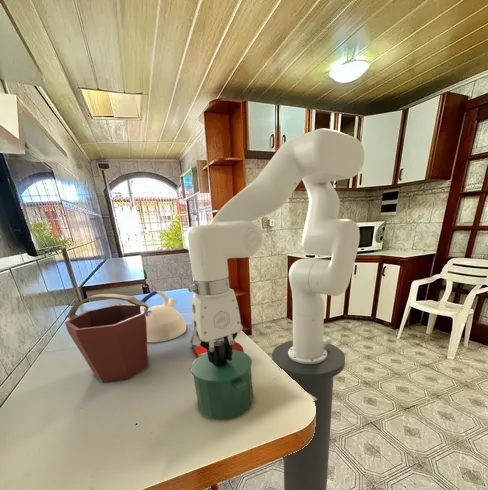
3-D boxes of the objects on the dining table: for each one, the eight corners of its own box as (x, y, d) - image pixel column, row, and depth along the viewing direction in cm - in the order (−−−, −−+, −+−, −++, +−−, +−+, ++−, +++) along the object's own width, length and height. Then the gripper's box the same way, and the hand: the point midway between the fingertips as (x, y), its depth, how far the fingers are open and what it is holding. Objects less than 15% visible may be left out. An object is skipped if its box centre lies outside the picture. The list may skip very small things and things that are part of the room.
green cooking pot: (230, 375, 79) (226, 343, 75) (270, 409, 64) (268, 372, 60) (186, 393, 73) (180, 359, 69) (219, 435, 57) (214, 395, 53)
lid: (232, 347, 74) (230, 325, 71) (264, 369, 62) (262, 344, 60) (182, 365, 67) (178, 341, 64) (207, 393, 55) (203, 366, 53)
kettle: (196, 326, 118) (190, 286, 111) (163, 346, 101) (153, 300, 94) (162, 321, 127) (154, 284, 120) (126, 339, 110) (115, 296, 103)
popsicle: (202, 361, 85) (190, 344, 97) (203, 365, 85) (190, 348, 98) (216, 357, 87) (202, 341, 99) (216, 361, 87) (202, 344, 100)
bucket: (172, 355, 94) (158, 285, 84) (129, 393, 74) (105, 308, 65) (116, 350, 101) (98, 285, 92) (64, 383, 82) (34, 306, 72)
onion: (224, 360, 88) (221, 338, 85) (241, 356, 89) (239, 334, 86) (229, 368, 83) (226, 345, 80) (246, 364, 84) (245, 341, 81)
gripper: (182, 297, 50) (195, 380, 57) (253, 281, 58) (257, 356, 65) (169, 290, 56) (183, 366, 63) (235, 277, 64) (241, 345, 71)
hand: (221, 360), depth 64 cm, fingers closed on lid, 3 cm apart
